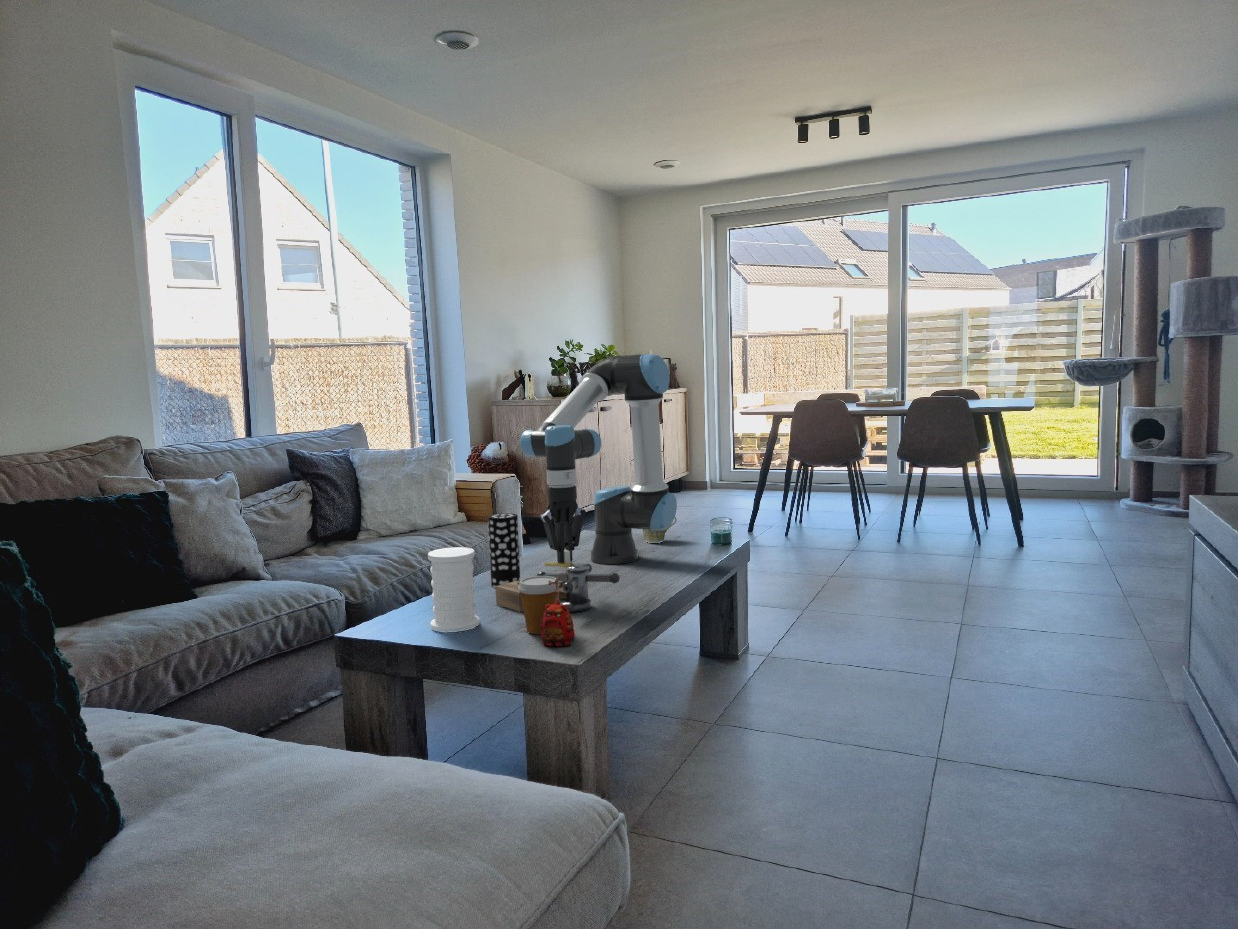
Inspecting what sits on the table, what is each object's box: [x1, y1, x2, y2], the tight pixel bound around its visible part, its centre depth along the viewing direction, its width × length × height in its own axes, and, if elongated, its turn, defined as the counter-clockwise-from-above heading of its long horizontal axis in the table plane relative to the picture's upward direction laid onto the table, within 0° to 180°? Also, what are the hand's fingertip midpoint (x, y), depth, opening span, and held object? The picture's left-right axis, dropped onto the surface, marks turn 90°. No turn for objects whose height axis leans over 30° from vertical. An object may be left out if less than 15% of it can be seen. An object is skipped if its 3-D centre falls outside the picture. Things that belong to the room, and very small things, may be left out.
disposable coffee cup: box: [518, 575, 559, 634], centre depth 187 cm, size 10×10×12 cm
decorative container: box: [427, 546, 480, 632], centre depth 192 cm, size 12×12×18 cm
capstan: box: [536, 561, 621, 613], centre depth 204 cm, size 22×22×11 cm
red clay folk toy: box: [540, 574, 575, 648], centre depth 177 cm, size 8×7×15 cm
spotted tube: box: [487, 512, 521, 589], centre depth 229 cm, size 8×8×20 cm
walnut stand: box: [495, 579, 569, 613], centre depth 210 cm, size 18×16×6 cm
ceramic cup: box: [642, 516, 677, 543], centre depth 283 cm, size 13×10×10 cm
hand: (565, 574), depth 210 cm, fingers closed
